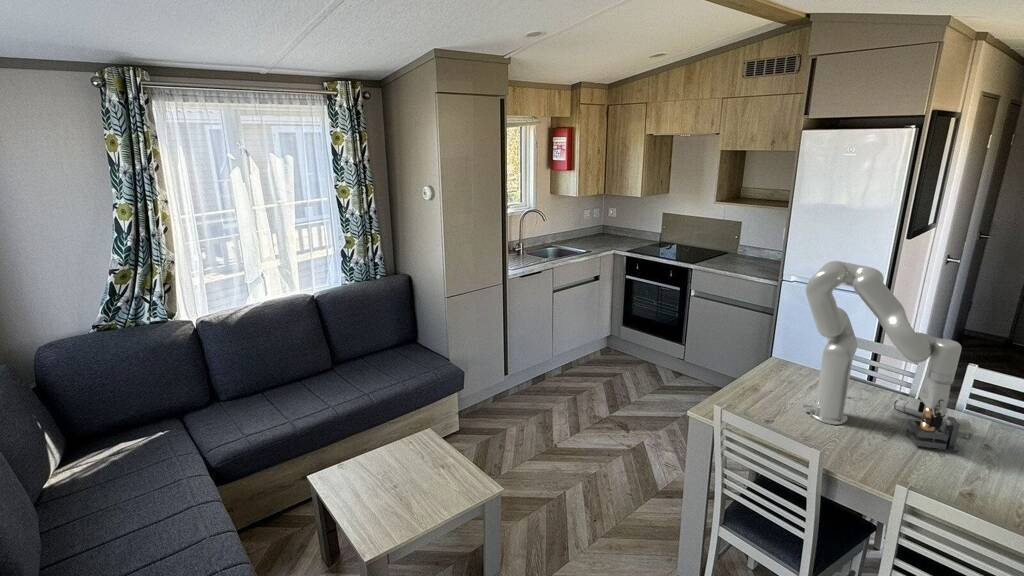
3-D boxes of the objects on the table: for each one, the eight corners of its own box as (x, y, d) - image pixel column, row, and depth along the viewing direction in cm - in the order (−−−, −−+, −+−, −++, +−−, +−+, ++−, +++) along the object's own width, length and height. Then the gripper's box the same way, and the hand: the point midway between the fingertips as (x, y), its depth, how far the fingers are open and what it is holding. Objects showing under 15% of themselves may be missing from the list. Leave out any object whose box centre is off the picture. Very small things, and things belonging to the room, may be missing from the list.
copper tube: (919, 445, 189) (927, 409, 184) (914, 438, 193) (922, 403, 188) (934, 447, 187) (942, 411, 183) (929, 440, 191) (937, 405, 187)
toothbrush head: (900, 397, 213) (977, 418, 191) (899, 413, 214) (976, 436, 192) (892, 401, 211) (970, 422, 189) (892, 417, 212) (968, 440, 190)
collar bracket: (905, 434, 195) (910, 409, 192) (947, 439, 191) (953, 414, 188) (914, 447, 187) (920, 422, 184) (958, 453, 183) (965, 427, 180)
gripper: (917, 363, 191) (907, 405, 196) (937, 385, 175) (926, 431, 181) (942, 365, 189) (931, 408, 194) (965, 388, 173) (952, 434, 178)
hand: (928, 419), depth 187 cm, fingers open, 9 cm apart
